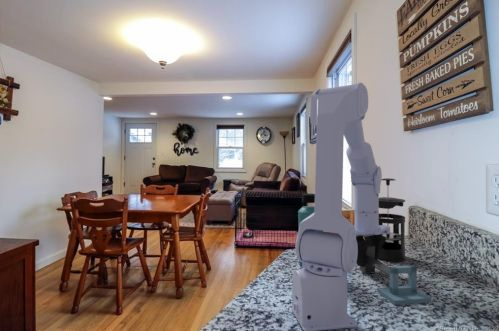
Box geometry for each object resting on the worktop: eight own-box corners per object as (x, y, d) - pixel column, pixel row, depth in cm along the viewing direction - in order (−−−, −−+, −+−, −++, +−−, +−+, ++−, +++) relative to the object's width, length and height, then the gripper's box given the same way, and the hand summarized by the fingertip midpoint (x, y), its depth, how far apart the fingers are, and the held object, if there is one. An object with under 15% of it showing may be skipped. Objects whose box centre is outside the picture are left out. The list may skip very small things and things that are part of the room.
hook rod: (402, 290, 64) (402, 260, 64) (391, 291, 64) (390, 260, 64) (369, 269, 77) (369, 243, 77) (359, 269, 77) (359, 244, 77)
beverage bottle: (325, 277, 72) (324, 195, 72) (297, 275, 74) (296, 194, 74) (323, 268, 79) (323, 192, 79) (298, 266, 80) (297, 192, 80)
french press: (415, 258, 86) (414, 178, 85) (397, 265, 80) (397, 180, 80) (377, 248, 95) (377, 177, 95) (359, 254, 90) (358, 178, 90)
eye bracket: (431, 301, 60) (431, 270, 59) (394, 304, 58) (394, 273, 58) (411, 289, 66) (411, 261, 65) (377, 291, 64) (377, 263, 64)
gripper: (356, 216, 69) (356, 274, 69) (400, 211, 75) (400, 265, 75) (335, 211, 76) (335, 264, 76) (377, 207, 82) (377, 257, 82)
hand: (366, 264), depth 76 cm, fingers open, 3 cm apart
